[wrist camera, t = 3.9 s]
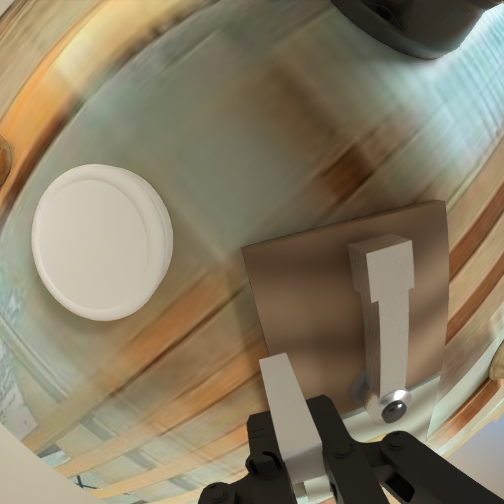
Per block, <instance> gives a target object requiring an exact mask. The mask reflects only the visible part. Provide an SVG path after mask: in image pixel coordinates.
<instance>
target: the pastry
mask: <svg viewBox="0 0 504 504" xmlns="http://www.w3.org/2000/svg"><path fill="white" fill-rule="evenodd" d="M10 166H11V159H10V148H9V145H8V143H7V141H6V140H5V139H4V138H3V137H2V136H1V135H0V186H1V185H2V184H3V183H4V180H5V178H6V176H7V175H8V173H9V171H10Z"/></svg>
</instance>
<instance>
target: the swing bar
mask: <svg viewBox="0 0 504 504" xmlns="http://www.w3.org/2000/svg"><path fill="white" fill-rule="evenodd" d="M348 251H349V258H350V265H351V272H352V280H353V288H354V290H356V291H357V292H358V293H359V294H361V299H362V309H363V321H364V335H365V353H366V381H365V382H364V383H363V385H362V386H361V388H360V390H359V393H358V398H359V400H360V402H361V404H362V405H363V407H364V409H365V410H366V412H367V414H368V415H369V417H370V418H371V420H372V422H373V423H374V424H375V425H377V426H384V425H388V424H390V423H394V422H396V421H398V420H399V419H400V418H401V417H402V416H403V415H404V414H405V413H406V411H407V410H408V408H409V407H410V405H411V402H412V396H411V394H410V393H409V392H408V391H407V390H406V388H405V383H406V372H407V357H408V333H409V297H408V289H411V288H414V265H413V250H412V240H410V239H407V238H403V237H400V236H397V235H394V234H390V233H389V234H385V235H382V236H378V237H374V238H371V239H367V240H364V241H360V242H356V243H353V244H349V245H348Z"/></svg>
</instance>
